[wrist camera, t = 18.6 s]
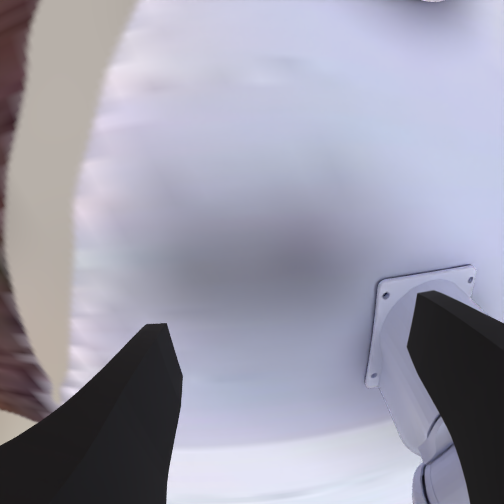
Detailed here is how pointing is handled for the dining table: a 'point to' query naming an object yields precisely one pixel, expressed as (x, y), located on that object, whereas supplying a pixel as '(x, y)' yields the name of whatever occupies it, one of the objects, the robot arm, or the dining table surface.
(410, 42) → the dining table surface
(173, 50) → the dining table surface
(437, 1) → the cup
